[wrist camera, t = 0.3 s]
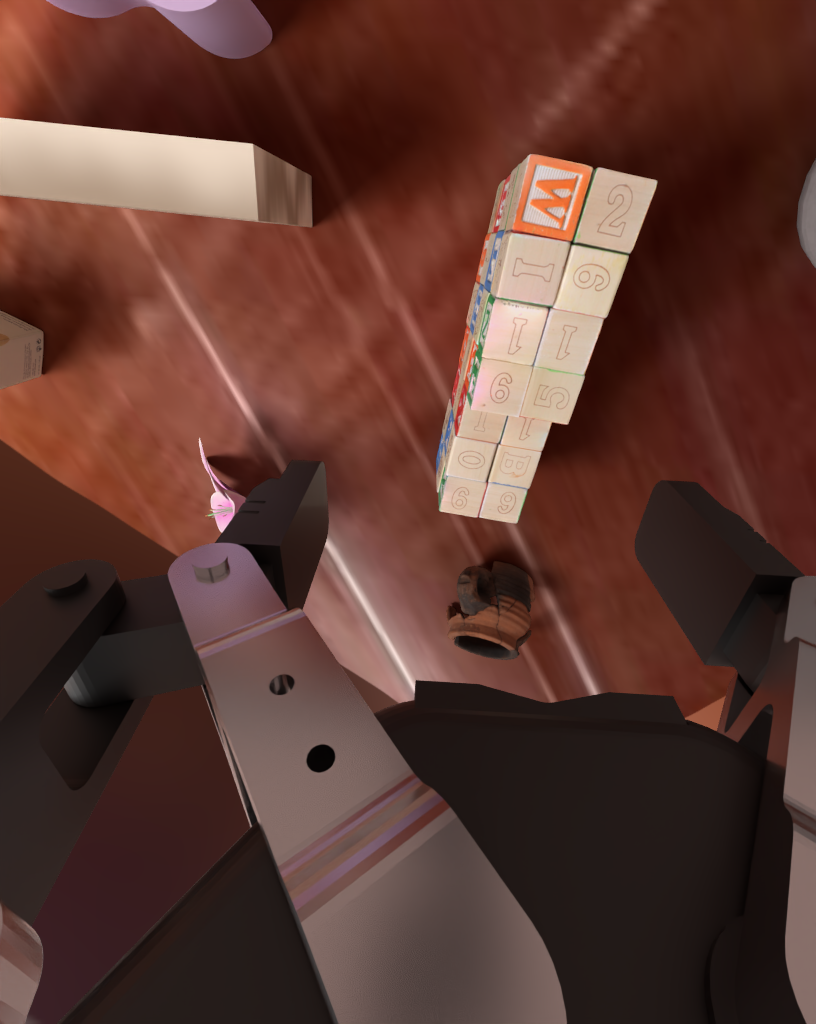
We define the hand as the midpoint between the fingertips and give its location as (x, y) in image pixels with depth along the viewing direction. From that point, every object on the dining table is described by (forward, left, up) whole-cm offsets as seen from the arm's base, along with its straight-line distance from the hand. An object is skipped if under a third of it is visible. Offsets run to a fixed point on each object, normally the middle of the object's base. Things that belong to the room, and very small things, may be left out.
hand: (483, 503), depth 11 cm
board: (-7, -22, -29) cm, 36 cm away
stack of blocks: (+2, +4, -29) cm, 29 cm away
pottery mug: (+26, +8, -29) cm, 40 cm away
